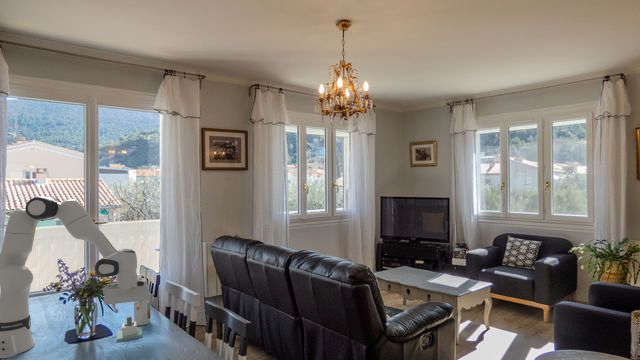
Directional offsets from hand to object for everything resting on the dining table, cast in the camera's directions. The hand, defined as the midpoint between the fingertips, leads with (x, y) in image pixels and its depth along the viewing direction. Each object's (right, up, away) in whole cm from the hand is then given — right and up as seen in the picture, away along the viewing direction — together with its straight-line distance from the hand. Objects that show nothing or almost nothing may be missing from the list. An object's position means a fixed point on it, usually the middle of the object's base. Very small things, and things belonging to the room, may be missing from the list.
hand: (127, 311), depth 193 cm
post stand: (+1, -12, +1) cm, 12 cm away
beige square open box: (0, -11, +1) cm, 11 cm away
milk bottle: (0, -12, +16) cm, 20 cm away
